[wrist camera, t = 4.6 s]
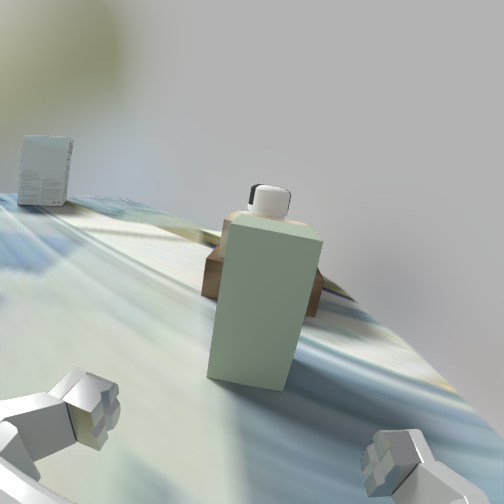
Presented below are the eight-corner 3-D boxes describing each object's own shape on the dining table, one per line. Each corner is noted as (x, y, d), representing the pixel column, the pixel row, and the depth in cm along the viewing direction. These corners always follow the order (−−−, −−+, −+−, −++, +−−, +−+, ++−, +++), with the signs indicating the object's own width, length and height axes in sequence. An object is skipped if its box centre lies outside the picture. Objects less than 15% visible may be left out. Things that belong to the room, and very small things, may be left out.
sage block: (206, 377, 18) (230, 223, 16) (219, 340, 23) (240, 213, 21) (282, 391, 18) (323, 241, 16) (282, 352, 23) (312, 227, 21)
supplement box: (67, 200, 76) (74, 139, 72) (62, 207, 65) (71, 136, 61) (26, 198, 69) (33, 137, 65) (16, 205, 58) (23, 134, 54)
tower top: (218, 257, 32) (224, 219, 31) (230, 239, 41) (234, 210, 40) (313, 275, 32) (321, 237, 31) (303, 253, 41) (309, 224, 40)
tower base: (200, 299, 32) (206, 258, 31) (219, 268, 43) (224, 237, 42) (313, 320, 31) (324, 280, 30) (303, 284, 43) (310, 253, 42)
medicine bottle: (232, 253, 51) (245, 181, 48) (274, 258, 52) (288, 188, 49) (238, 266, 44) (253, 182, 41) (285, 272, 45) (302, 192, 43)
